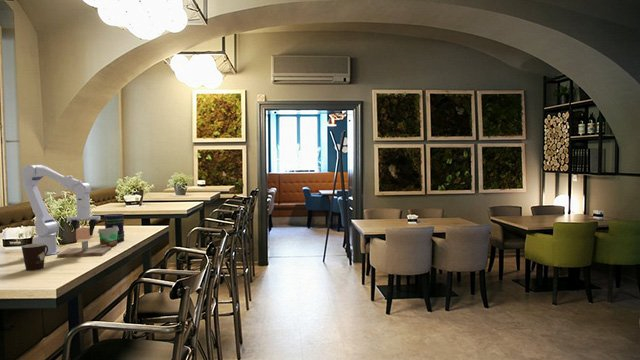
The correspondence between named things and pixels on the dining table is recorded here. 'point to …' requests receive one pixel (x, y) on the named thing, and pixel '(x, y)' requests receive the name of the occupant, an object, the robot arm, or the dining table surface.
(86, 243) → the post
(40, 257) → the coffee mug
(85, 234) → the collar
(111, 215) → the storage jar
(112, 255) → the dining table surface
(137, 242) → the dining table surface
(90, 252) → the board
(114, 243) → the food container
